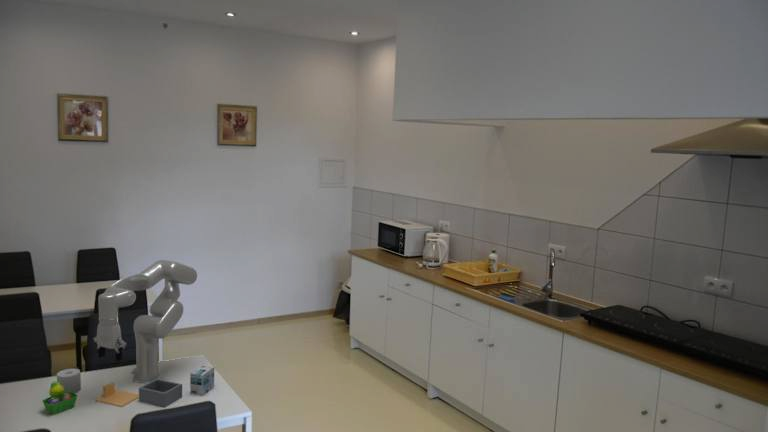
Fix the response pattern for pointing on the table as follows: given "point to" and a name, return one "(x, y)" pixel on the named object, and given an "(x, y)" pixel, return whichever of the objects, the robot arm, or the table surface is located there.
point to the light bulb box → (202, 380)
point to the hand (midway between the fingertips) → (110, 358)
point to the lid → (116, 396)
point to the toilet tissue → (70, 380)
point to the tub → (157, 397)
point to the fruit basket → (59, 399)
